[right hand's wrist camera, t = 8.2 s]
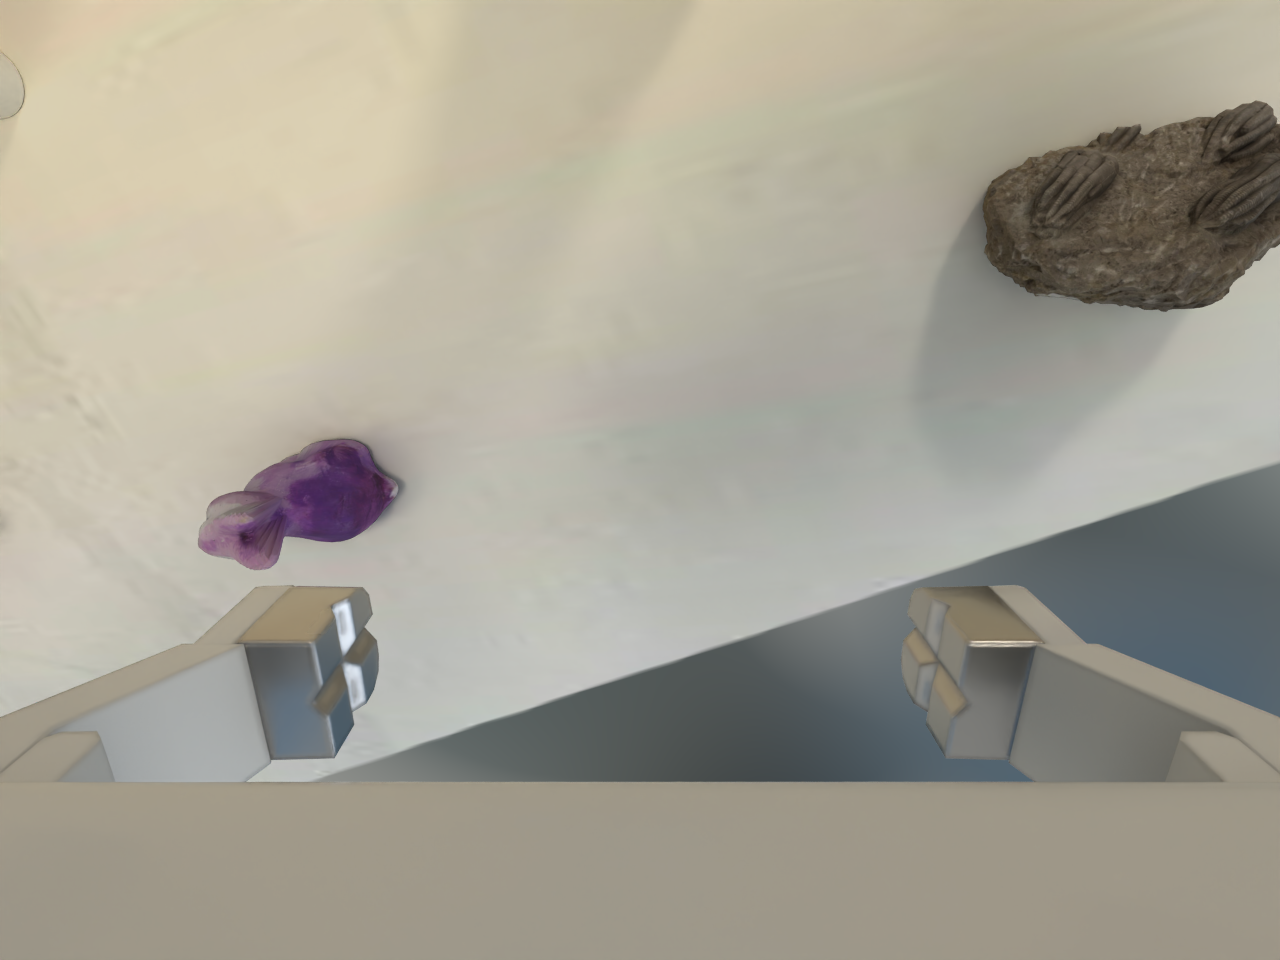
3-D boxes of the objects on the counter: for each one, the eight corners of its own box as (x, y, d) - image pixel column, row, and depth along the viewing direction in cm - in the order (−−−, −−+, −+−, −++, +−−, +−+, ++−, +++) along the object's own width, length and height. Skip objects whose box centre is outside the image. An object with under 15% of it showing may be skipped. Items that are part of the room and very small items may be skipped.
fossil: (1329, 49, 45) (1436, 236, 40) (1240, 157, 54) (1319, 321, 49) (978, 129, 49) (1037, 309, 44) (949, 218, 58) (996, 376, 53)
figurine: (254, 486, 60) (136, 564, 46) (324, 407, 57) (222, 463, 43) (341, 555, 62) (253, 650, 48) (412, 482, 60) (341, 558, 46)
